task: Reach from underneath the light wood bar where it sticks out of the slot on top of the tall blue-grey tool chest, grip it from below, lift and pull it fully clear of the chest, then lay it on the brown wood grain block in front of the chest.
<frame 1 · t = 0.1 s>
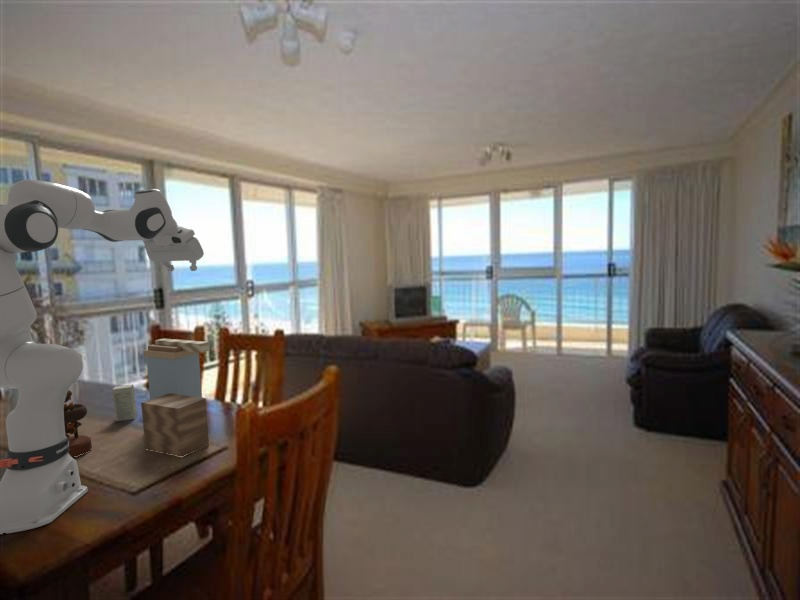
hand: (182, 270, 164), 54 cm above the table, tool tilted 30°, fingers open, 8 cm apart
chest: (178, 423, 165), on the table
light wood bar: (182, 349, 160), point 27 cm above the table, touching chest
skincare box: (126, 419, 172), on the table
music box: (72, 452, 143), on the table
brown wood grain block: (177, 447, 144), on the table
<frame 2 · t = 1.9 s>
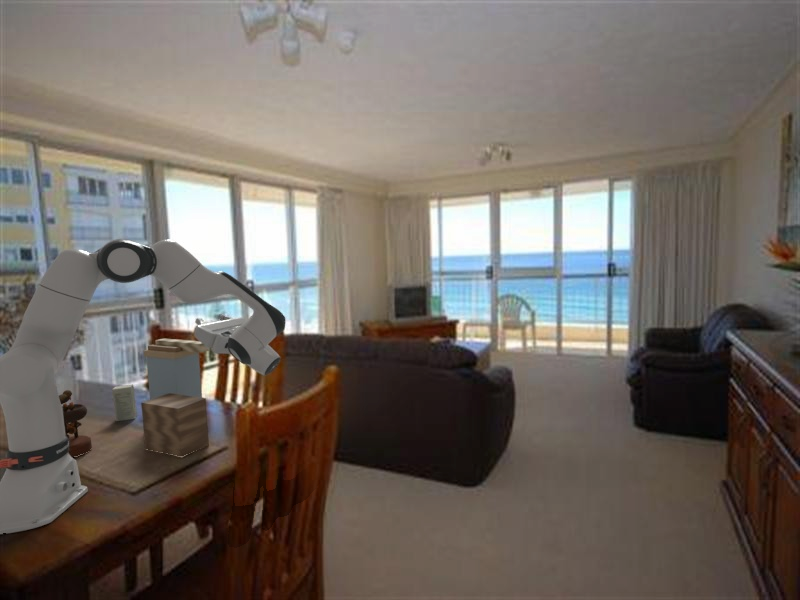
hand: (209, 317, 153), 39 cm above the table, tool pointing upward, fingers open, 8 cm apart
nothing on the table moved.
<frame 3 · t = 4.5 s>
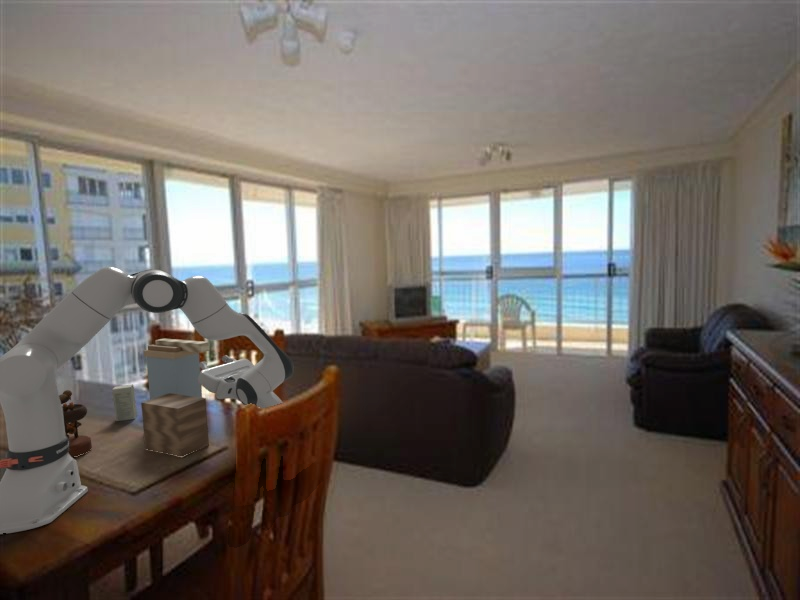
hand: (212, 360, 154), 24 cm above the table, tool pointing upward, fingers open, 8 cm apart
nothing on the table moved.
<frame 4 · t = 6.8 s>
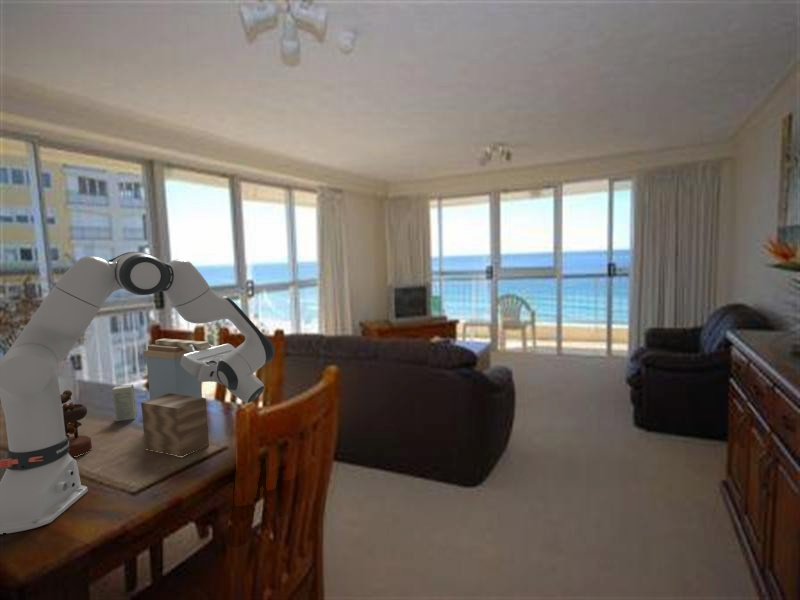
hand: (195, 344, 157), 29 cm above the table, tool pointing upward, fingers closed on light wood bar, 3 cm apart
light wood bar: (182, 349, 160), point 27 cm above the table, touching chest, gripper
everything else where it was.
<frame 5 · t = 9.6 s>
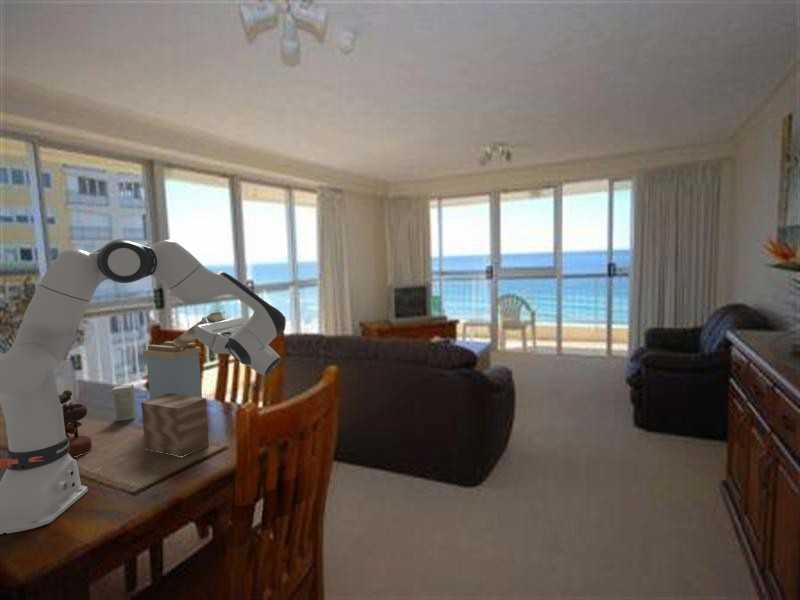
hand: (209, 317, 153), 39 cm above the table, tool pointing upward, fingers closed on light wood bar, 3 cm apart
light wood bar: (199, 334, 156), point 33 cm above the table, tilted 28°, touching gripper
everything else where it was.
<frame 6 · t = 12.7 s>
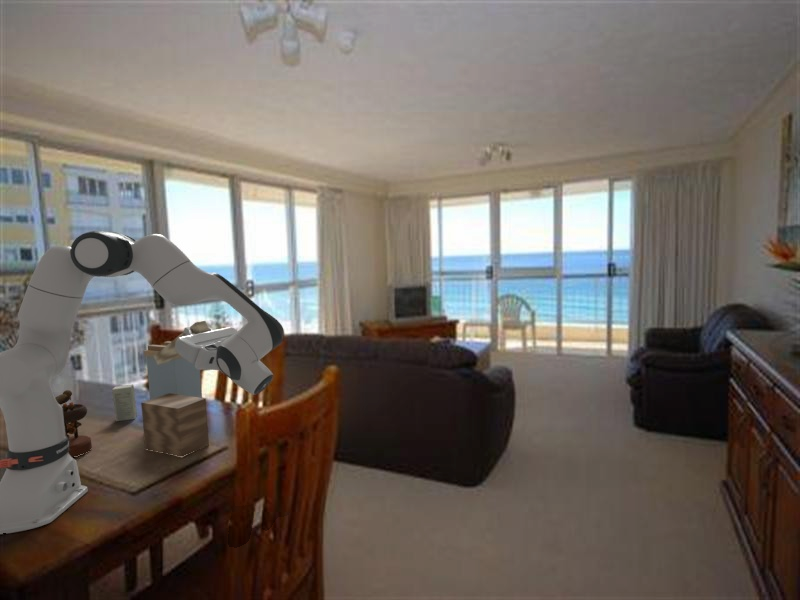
hand: (193, 327, 135), 38 cm above the table, tool pointing upward, fingers closed on light wood bar, 3 cm apart
light wood bar: (183, 347, 138), point 32 cm above the table, tilted 30°, touching gripper
everything else where it was.
when the fingers open (20 cm above the table, at t = 16.2 s): light wood bar drops 2 cm, resting on brown wood grain block.
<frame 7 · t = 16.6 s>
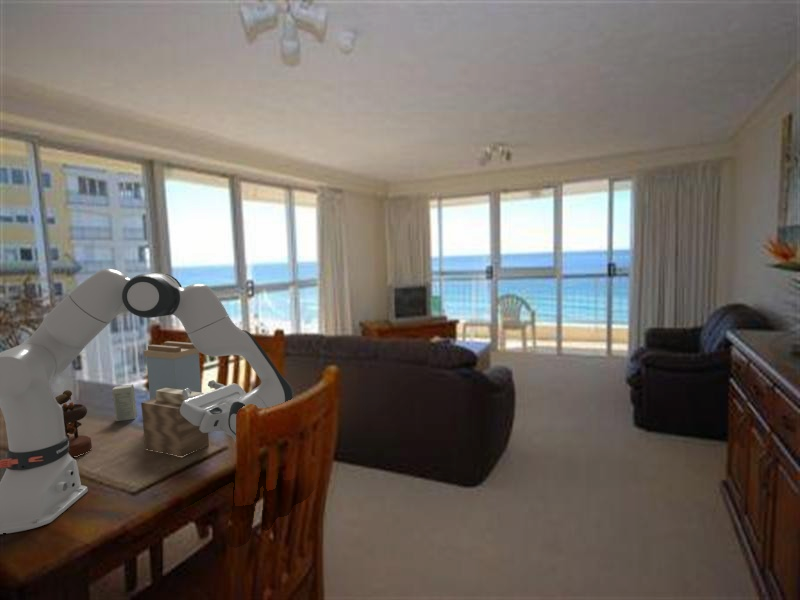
hand: (197, 386, 137), 20 cm above the table, tool pointing upward, fingers open, 8 cm apart
light wood bar: (186, 402, 140), point 15 cm above the table, touching brown wood grain block
everything else where it was.
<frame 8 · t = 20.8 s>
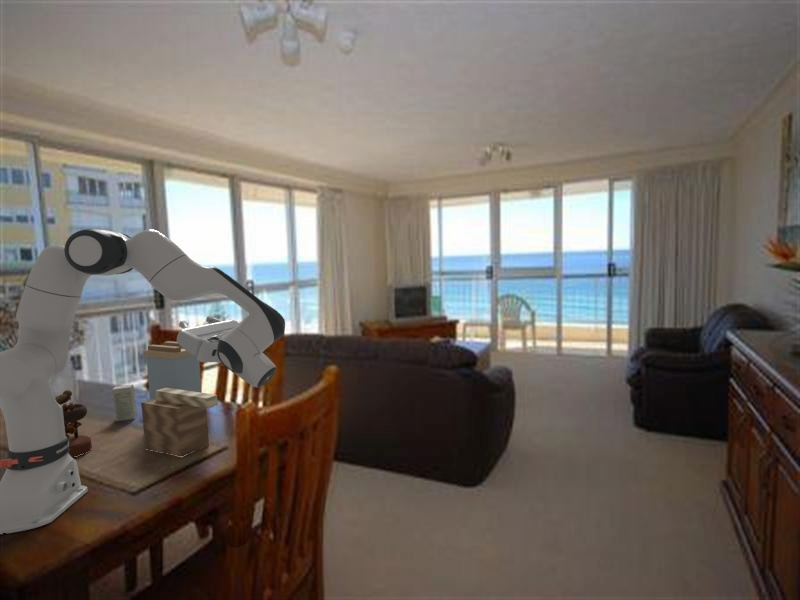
hand: (195, 320, 134), 40 cm above the table, tool pointing upward, fingers open, 8 cm apart
nothing on the table moved.
at the end: light wood bar inside the target area on the brown wood grain block (2.7 cm from its centre), point 15.0 cm above the brown wood grain block's base; light wood bar touching brown wood grain block; the gripper is holding nothing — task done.
